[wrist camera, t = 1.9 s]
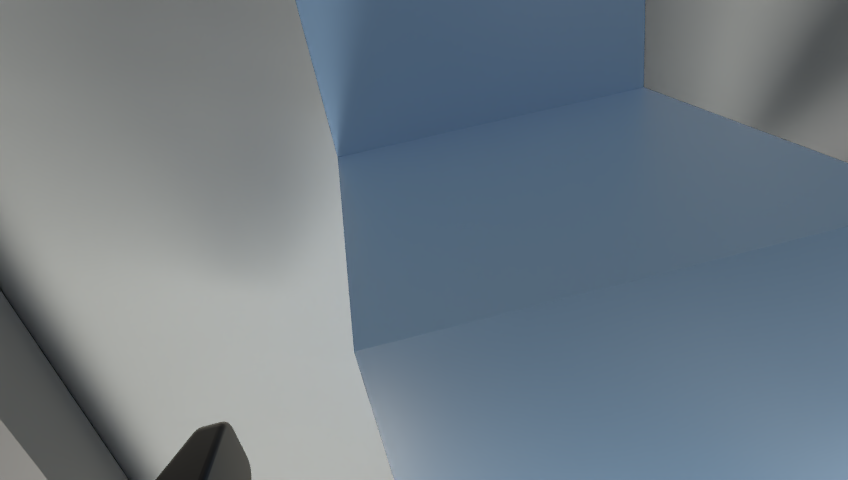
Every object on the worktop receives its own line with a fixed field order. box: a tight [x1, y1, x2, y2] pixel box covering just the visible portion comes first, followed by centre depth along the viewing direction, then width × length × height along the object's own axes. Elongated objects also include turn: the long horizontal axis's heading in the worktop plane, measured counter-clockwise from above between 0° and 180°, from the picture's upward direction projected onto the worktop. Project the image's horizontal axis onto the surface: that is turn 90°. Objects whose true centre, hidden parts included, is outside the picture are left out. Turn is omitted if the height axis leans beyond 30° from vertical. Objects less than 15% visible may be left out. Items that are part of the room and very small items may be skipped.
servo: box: [295, 0, 848, 480], centre depth 7 cm, size 4×11×7 cm, turn 11°
